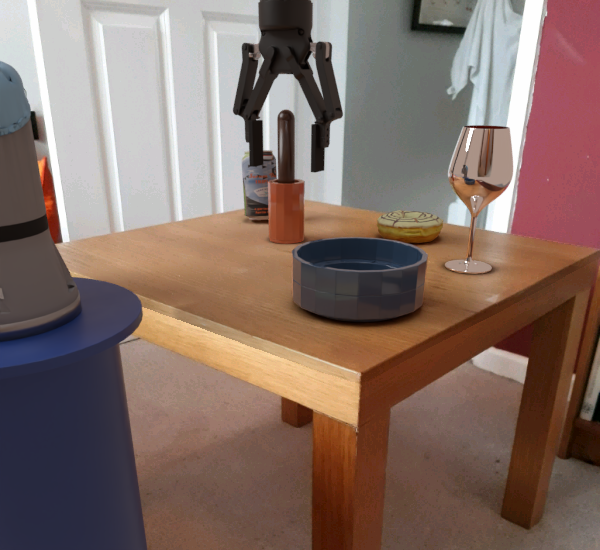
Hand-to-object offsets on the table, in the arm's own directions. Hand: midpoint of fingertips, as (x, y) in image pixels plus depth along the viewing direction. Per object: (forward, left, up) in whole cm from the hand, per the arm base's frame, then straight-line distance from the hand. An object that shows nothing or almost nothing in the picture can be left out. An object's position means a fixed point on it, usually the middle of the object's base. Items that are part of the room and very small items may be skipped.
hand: (286, 168), depth 97 cm
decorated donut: (+16, +12, -11) cm, 23 cm away
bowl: (+24, -22, -11) cm, 34 cm away
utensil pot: (0, 0, -11) cm, 11 cm away
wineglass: (+30, 0, -11) cm, 32 cm away
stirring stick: (0, 0, -10) cm, 10 cm away
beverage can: (-12, +10, -11) cm, 19 cm away
